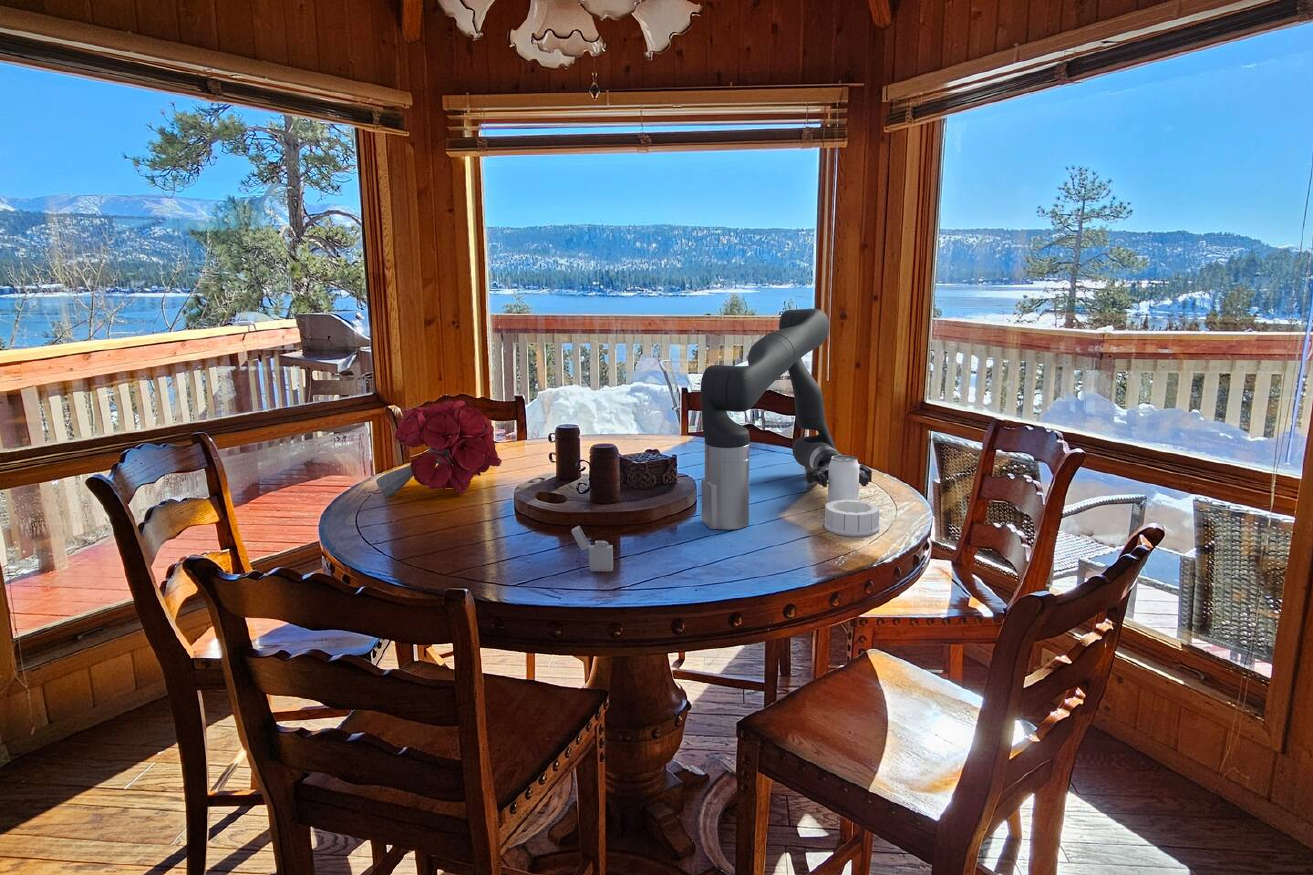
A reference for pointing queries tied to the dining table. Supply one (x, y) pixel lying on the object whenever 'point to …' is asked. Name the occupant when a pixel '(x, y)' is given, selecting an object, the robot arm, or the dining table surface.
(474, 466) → the bouquet
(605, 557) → the lighter
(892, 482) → the dining table surface
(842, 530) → the holder
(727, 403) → the robot arm
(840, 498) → the can
